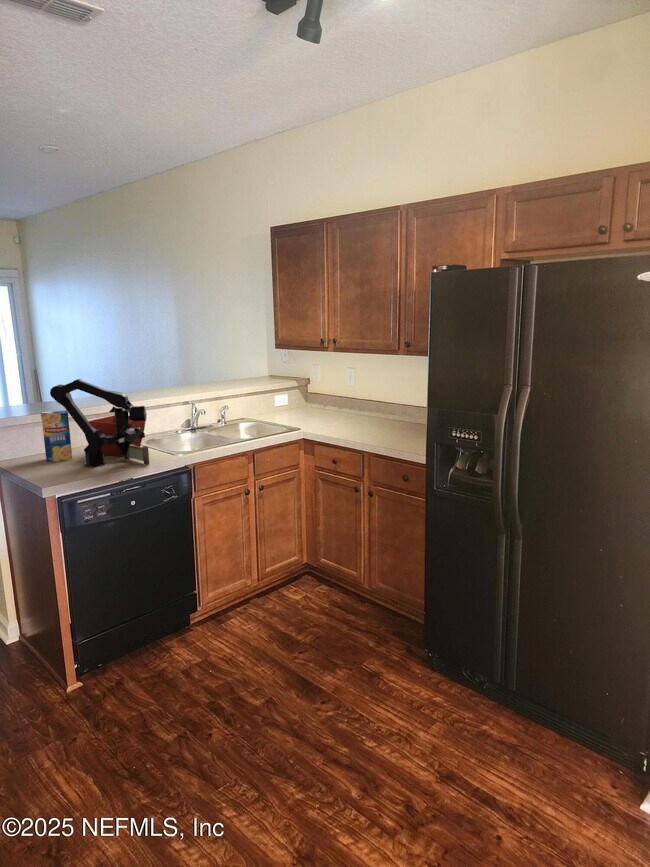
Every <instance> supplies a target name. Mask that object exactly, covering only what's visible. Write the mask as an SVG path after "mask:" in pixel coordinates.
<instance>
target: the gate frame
mask: <svg viewBox="0 0 650 867" xmlns="http://www.w3.org/2000/svg"><path fill="white" fill-rule="evenodd" d="M142 447H143V460H144V461H143V465H144V464H145V465H146V466H147V464H148V465H150V454H149V453H150V452H149V446H148V445H143V446H142ZM123 459H128V460H130V459H131V458H127V455H126V456H123Z"/></svg>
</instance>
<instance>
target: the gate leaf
mask: <svg viewBox="0 0 650 867" xmlns="http://www.w3.org/2000/svg"><path fill="white" fill-rule="evenodd" d="M127 458H130V459H133V460H136V461H141V462H144V460H143V446H141V445H140V446H136V445H132V444H130V446H129V449H128V452H127Z"/></svg>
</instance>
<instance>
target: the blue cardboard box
mask: <svg viewBox="0 0 650 867" xmlns="http://www.w3.org/2000/svg"><path fill="white" fill-rule="evenodd" d="M40 417H41V424H42V432H43V433H42V434H43V443H44V452H45V459H46V460H45V462H46V463H52V461H55V462H60V461H59V460H64V461H70V460H69V459H72V460H73V452H72V451H73V450H72V443H71V441H72V440H71V433H70V432H71V430H70V420H69V413H68V411H67V410H56V411H42V412H40Z"/></svg>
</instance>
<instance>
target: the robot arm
mask: <svg viewBox="0 0 650 867" xmlns="http://www.w3.org/2000/svg"><path fill="white" fill-rule="evenodd" d="M77 390H79V391H81V392H84V393H87V394H90V395H91V396H95V397H97V398H100V399H103V400H105V401H106V402H107V403H109V404H111V405H112V408H111V409H110V410H109V413H114V415H115V424H114V426H115V427H116V433H115V436H116V437H114V436H105V435H104V434H103V433H102V432H101V430H100V428H99V429H98V430H96V429H95V428H93V427H92V425H91V424H90V423H89V422H88V421H89V420H88V419H87V417H86V416H85V415H84V413H83V412H82V411H81V409H80V408H79V407H78V405H77V404H76V403H75V402H74V400H73V397H72V394H71V392H74V391H77ZM49 394H50V397H52V399H53V400H54V401H55V402H57V403H58V404H59V405H61V406H62V407H63V408H64V409H65V411H68V415H70V417H71V418H72V419H73V420H74V422H75V423H76V424H77V427H79V429H80V430H81V431H82V432H83V434H84V437H85V439H86V442H87V446H85V448H84V449H83V451H84V456H85V463H84V464H83V465H84V466H86V467H90V468H95V467H101V466H103V465H106V463H105V462H104V460H105V459H104V455H103V454H102V451H101V450H100V449H101V447H102V446H103V445H104V444H107V445H110V444H115V443H116V445H117V446H118V447H119V449H120V451H121V453H122V454H123V456H122V457H124V456H126V455H127V452H128V449H129V446H130V444H131V443H132V442H134V440H136V439H137V437H138V438H142V439H144V438H146V434H145V431H144V432H143V431H141V429H140V428H139V427H138V428H134V429H132V427H131V424H129V417H130V419H131V420H132V421H145V422H147V419H148V418H147V411H146V406H145V405H140V406H139V405H138V406H137V405H135V406H134V405H133V403H132V402H130V400H129V397H128V395H127V394H126V393H124V392H120V391H113V390H108V389H105V388H102V387H100V386H97V385H94V384H92V383H90V382H87V381H84V380H82V379H80V378H77V379H75V380H73V381H72V382H69V383H67V384H57V385H55V386H52V387H51V388H50V391H49ZM121 437H122V438H121Z"/></svg>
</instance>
